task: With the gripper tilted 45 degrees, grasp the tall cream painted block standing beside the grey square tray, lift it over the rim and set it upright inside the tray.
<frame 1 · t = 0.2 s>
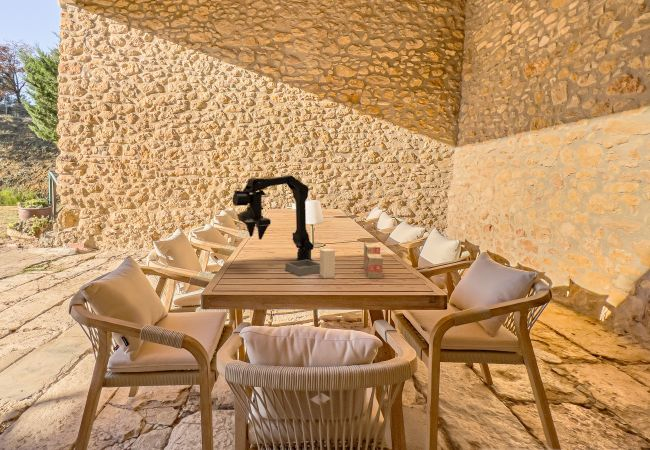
hand: (255, 238, 177), 15 cm above the table, tool pointing down, fingers open, 9 cm apart
stack of blocks: (372, 272, 176), on the table
cream block: (326, 276, 168), on the table
grey square tray: (304, 271, 175), on the table
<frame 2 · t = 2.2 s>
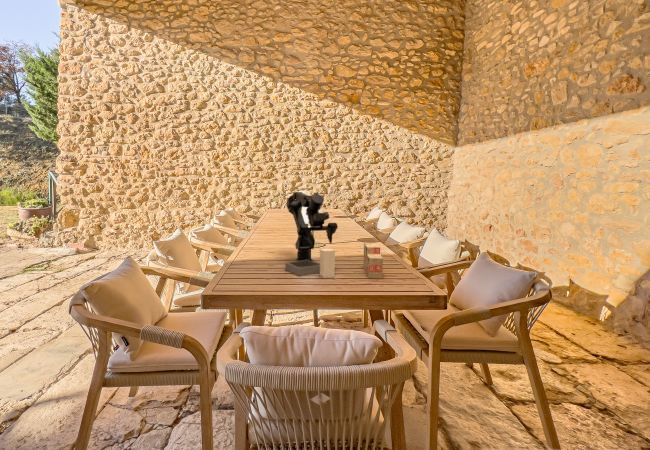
hand: (321, 243, 172), 13 cm above the table, tool tilted 45°, fingers open, 9 cm apart
nothing on the table moved.
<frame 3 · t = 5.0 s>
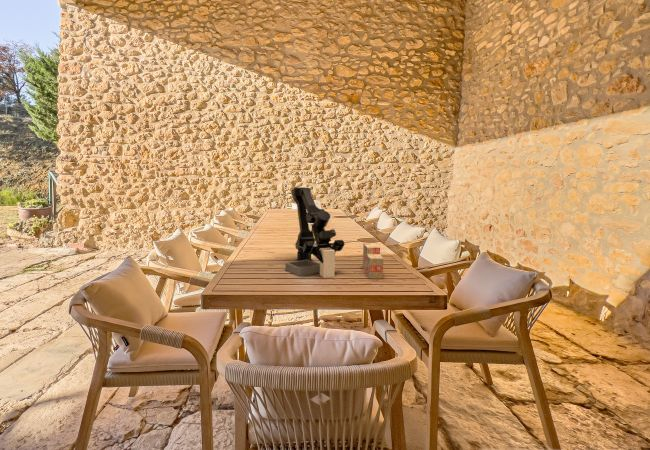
hand: (328, 262, 165), 7 cm above the table, tool tilted 45°, fingers closed on cream block, 5 cm apart
cream block: (326, 275, 168), on the table, touching gripper
everything else where it was.
when the fingers open (9 cm above the table, at t = 8.6 s): cream block drops 1 cm, resting on grey square tray.
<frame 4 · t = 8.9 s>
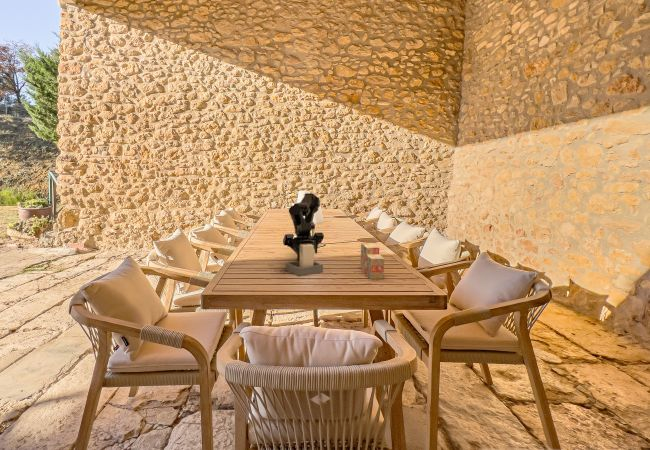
hand: (307, 253, 171), 9 cm above the table, tool tilted 45°, fingers open, 8 cm apart
cream block: (306, 270, 173), point 1 cm above the table, touching grey square tray
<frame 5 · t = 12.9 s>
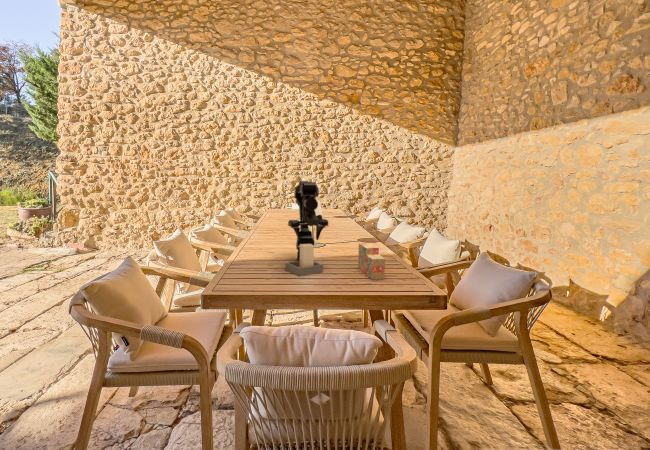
hand: (308, 240, 181), 13 cm above the table, tool pointing down, fingers open, 9 cm apart
at the end: cream block inside the target area on the grey square tray (2.0 cm from its centre), point 0.8 cm above the grey square tray's base; cream block tilted 0°; the gripper is holding nothing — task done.
